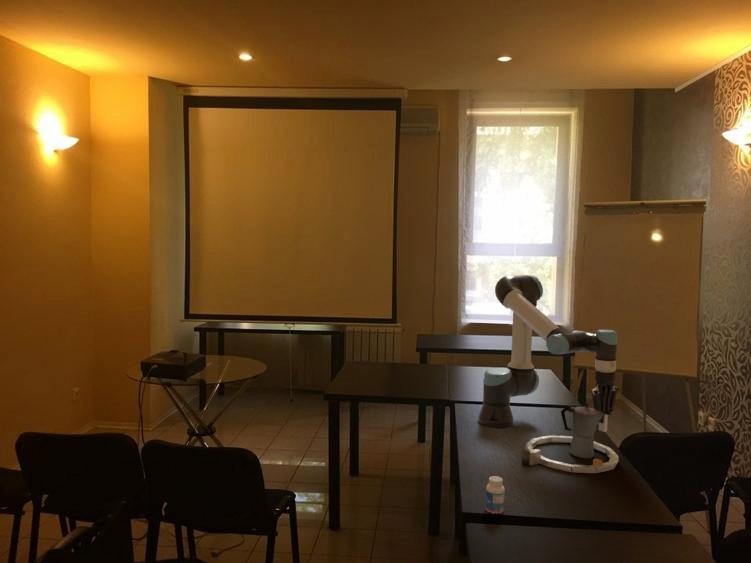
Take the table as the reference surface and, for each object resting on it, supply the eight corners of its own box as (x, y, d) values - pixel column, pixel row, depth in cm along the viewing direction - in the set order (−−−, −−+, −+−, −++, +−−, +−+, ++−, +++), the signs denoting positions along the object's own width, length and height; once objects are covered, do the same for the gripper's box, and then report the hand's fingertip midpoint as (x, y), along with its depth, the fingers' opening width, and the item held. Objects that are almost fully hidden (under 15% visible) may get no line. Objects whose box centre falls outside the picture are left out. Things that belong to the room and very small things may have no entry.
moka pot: (604, 461, 218) (606, 408, 216) (560, 457, 221) (563, 404, 219) (599, 452, 227) (602, 401, 225) (557, 448, 230) (560, 397, 228)
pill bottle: (483, 505, 180) (484, 474, 179) (500, 505, 180) (501, 474, 179) (488, 514, 174) (489, 482, 174) (506, 514, 175) (507, 482, 174)
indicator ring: (493, 450, 225) (494, 437, 225) (570, 436, 243) (570, 424, 243) (555, 482, 197) (555, 468, 196) (636, 463, 215) (636, 450, 214)
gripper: (601, 373, 220) (598, 436, 222) (625, 370, 226) (622, 431, 228) (585, 369, 227) (583, 430, 228) (609, 367, 233) (606, 425, 234)
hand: (602, 430), depth 228 cm, fingers closed
